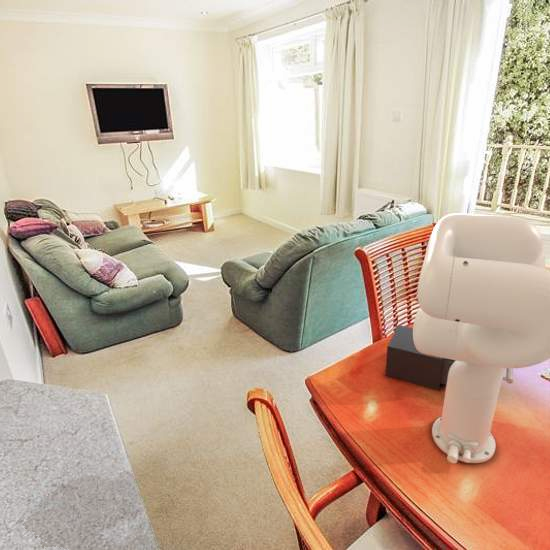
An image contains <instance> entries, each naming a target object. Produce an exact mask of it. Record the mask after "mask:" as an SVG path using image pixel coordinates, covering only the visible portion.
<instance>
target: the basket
mask: <svg viewBox="0 0 550 550" xmlns="http://www.w3.org/2000/svg"><path fill="white" fill-rule="evenodd" d="M455 361H456V360H451V359H446V358H444V359H443V364H442V371H441V378H440V385H445V386H446V385H447V378H448V372H449V369H450V367H451V366H452V364H453V363H454V362H455ZM505 372H506V374H505V376H503V379H502V381H506V383H508V384H512V383H513V382H514V368H510V369H509V368H506V369H505Z"/></svg>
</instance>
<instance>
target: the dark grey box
mask: <svg viewBox="0 0 550 550" xmlns="http://www.w3.org/2000/svg"><path fill="white" fill-rule="evenodd" d="M443 359H444V358H441V357H436V356H431V355H427V354H423V353H420V352H419V351H418V350H417V349H416V347H415V345H414V341H413V327H409V326H404V325H400V324H397V327H396V329H395V330H394V332H393V334H392V336H391V338H390V340H389V342H388V344H387V348H386V362H385V377H389V378H392V379H393V378H394V379H397V380H400V381H404V382H407V383H410V384H415V385H417V386H422V387H424V388H429V389H432V390H435V391H439V390H440V386H441V383H440V378H441V371H442V364H443Z"/></svg>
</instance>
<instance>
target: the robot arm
mask: <svg viewBox="0 0 550 550" xmlns="http://www.w3.org/2000/svg"><path fill="white" fill-rule="evenodd" d="M543 249H544V237H543V234H542V232H541V231H540V230H539V228H538V227H537V226H536V225H535V224H533V223H532V222H531V221H529V220H527V219H524V218H522V217H517V216H512V215H497V214H496V215H495V214H477V213H476V214H474V213H451V214H450V213H449V214H447V215H445V216H443V217H441V219H440V220H439V221H438V222H437V223H436V225H435V226H434V228H433V230H432V232H431V234H430V236H429V239H428V242H427V246H426V249H425V255H424V258H423V262H422V265H421V270H420V274H419V277H418V283H417V301H418V305H419V308H418V310H417V311H416V313H415V316H414V321H413V325H412V328H413V341H414V345H415V347H416V349H417V350H418V351H419V352H420V353H423V354H427V355H431V356H436V357H441V358H446V359H451V360H456V361H455V362H454V363H453V364H452V366H451V367H450V369H449V372H448V378H447V385H445V392H444V398H443V406H442V410H441V411H442V412H441V416H440V417H438V418H437V419H436V420H434V422H433V424H432V426H431V436H432V439H433V441H434V443H435V444H436V446H437V447H438V448H439V449H440V450H441V451H442V452H443V453H445V454H446V455H447V456H446V460H447V461H448V463H450V464H454V465H455V464H457V463H458V461H460V462H463V463H466V464H480V463H485V462H487V461H489V460H490V459H491V458H492V457H493V456H494V454H495V452H496V447H497V445H496V440H495V437H494V436H493V434H492V433H491V429H492V425H493V421H494V417H495V413H496V408H497V404H498V400H499V395H500V391H501V386H502V383H503V380H502V379H503V377H504V375H505V372H506V370H507V368H509V369H510V368H513V369H523V368H528V367H529V368H530V367H533V366H536V365H540V364H542V363H544V362H546V361H548V360H550V269H548V268H546V258H545V253H544V251H543Z"/></svg>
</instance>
